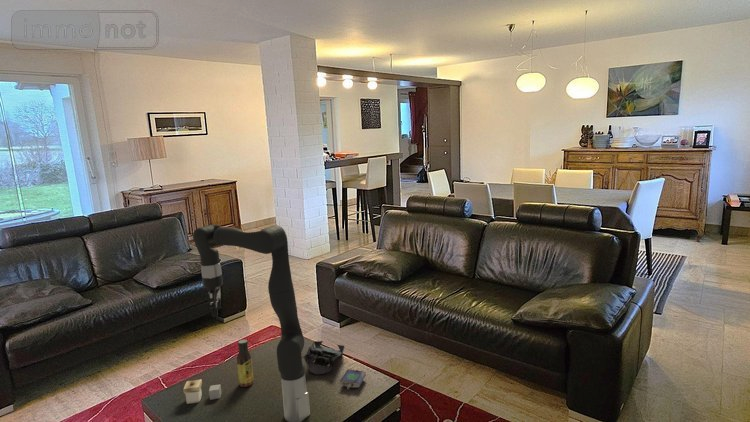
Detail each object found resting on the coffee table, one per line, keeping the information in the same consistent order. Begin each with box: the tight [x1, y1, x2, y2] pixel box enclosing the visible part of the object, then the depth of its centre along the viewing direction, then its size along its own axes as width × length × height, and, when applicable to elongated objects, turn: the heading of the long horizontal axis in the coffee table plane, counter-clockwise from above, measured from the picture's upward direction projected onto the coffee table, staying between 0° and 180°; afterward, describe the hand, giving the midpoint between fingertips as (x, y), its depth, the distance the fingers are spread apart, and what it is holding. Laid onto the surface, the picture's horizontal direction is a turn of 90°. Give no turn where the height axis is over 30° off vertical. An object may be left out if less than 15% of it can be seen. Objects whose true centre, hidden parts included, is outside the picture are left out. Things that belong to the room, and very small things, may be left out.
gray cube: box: [208, 384, 222, 401], centre depth 179 cm, size 4×4×4 cm
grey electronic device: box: [339, 368, 367, 390], centre depth 183 cm, size 9×3×11 cm
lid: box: [182, 378, 203, 395], centre depth 177 cm, size 6×6×3 cm
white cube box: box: [185, 387, 203, 405], centre depth 177 cm, size 5×5×5 cm
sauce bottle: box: [236, 339, 254, 388], centre depth 186 cm, size 7×6×20 cm
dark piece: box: [301, 340, 345, 375], centre depth 201 cm, size 18×20×9 cm
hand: (216, 312), depth 174 cm, fingers open, 8 cm apart
